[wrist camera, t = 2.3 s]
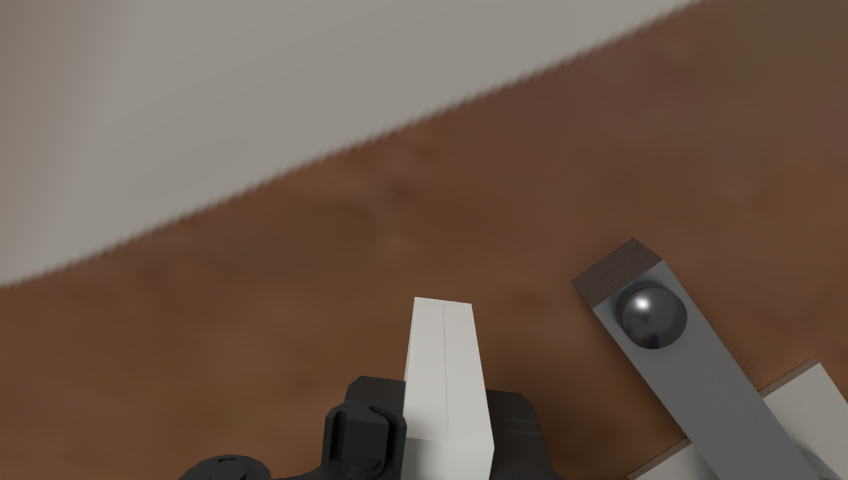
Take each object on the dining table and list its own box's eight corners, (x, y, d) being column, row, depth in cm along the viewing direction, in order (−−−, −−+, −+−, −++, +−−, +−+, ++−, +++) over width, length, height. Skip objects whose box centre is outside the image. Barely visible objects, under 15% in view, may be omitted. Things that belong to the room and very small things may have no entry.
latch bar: (863, 514, 23) (939, 588, 20) (760, 574, 24) (816, 656, 20) (657, 220, 20) (703, 247, 17) (548, 297, 21) (571, 338, 18)
